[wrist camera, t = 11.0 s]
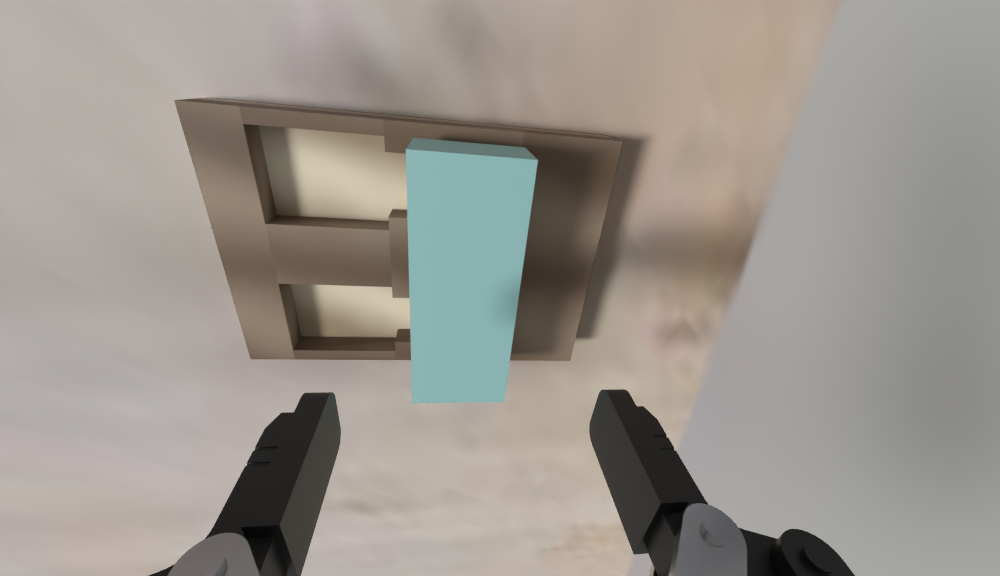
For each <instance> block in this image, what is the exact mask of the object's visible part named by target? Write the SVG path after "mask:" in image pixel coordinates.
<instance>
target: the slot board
mask: <svg viewBox="0 0 1000 576" xmlns="http://www.w3.org/2000/svg"><path fill="white" fill-rule="evenodd" d="M174 101H175V104H176V108H177V111H178V114H179V118H180V121H181V125H182V128H183V131H184V135H185V138H186V141H187V145H188V148H189V152H190V155H191V158H192V162H193V165H194V169H195V172H196V175H197V179H198V182H199V185H200V189H201V192H202V196H203V199H204V202H205V206H206V209H207V213H208V216H209V219H210V223H211V226H212V229H213V233H214V236H215V240H216V243H217V246H218V250H219V253H220V257H221V260H222V263H223V267H224V270H225V273H226V277H227V280H228V284H229V287H230V290H231V294H232V297H233V301H234V304H235V307H236V311H237V314H238V317H239V321H240V324H241V328H242V331H243V334H244V338H245V341H246V345H247V348H248V351H249V355H250V358H251V359H326V360H411V338H410V299H409V259H408V220H407V181H406V148H407V147H408V145H409V144H410V142H411V141H412V139H413V138H422V139H434V140H445V141H457V142H468V143H480V144H491V145H503V146H514V147H525V148H526V149H527V150H528V151H529V152H530V153H531V154H532V155H533V156H534V157H535V158H536V159H537V160H538V163H537V171H536V178H535V185H534V192H533V199H532V206H531V213H530V220H529V227H528V235H527V242H526V249H525V256H524V263H523V270H522V277H521V284H520V291H519V298H518V306H517V313H516V320H515V327H514V334H513V341H512V348H511V355H510V360H543V361H570V359H571V355H572V351H573V346H574V342H575V338H576V334H577V330H578V326H579V322H580V318H581V313H582V309H583V305H584V301H585V297H586V293H587V289H588V284H589V280H590V276H591V272H592V268H593V264H594V260H595V256H596V251H597V247H598V243H599V239H600V235H601V231H602V227H603V222H604V218H605V214H606V210H607V206H608V202H609V198H610V194H611V189H612V185H613V181H614V177H615V173H616V169H617V165H618V161H619V156H620V152H621V148H622V144H623V142H622V141H620V140H617V139H615V138H612V137H609V136H607V135H598V134H588V133H577V132H566V131H556V130H545V129H534V128H524V127H513V126H503V125H492V124H481V123H471V122H460V121H450V120H439V119H428V118H418V117H407V116H397V115H386V114H375V113H365V112H354V111H343V110H333V109H322V108H312V107H301V106H290V105H280V104H269V103H259V102H248V101H237V100H227V99H216V98H197V99H184V100H174Z"/></svg>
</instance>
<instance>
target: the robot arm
mask: <svg viewBox="0 0 1000 576" xmlns="http://www.w3.org/2000/svg"><path fill="white" fill-rule="evenodd" d="M340 436H341V429H340V422H339V417H338V411H337V405H336V399H335V395H334V393H304V394H303V395H302V397H301V399H300V401H299V403H298V405H297V407H296V409H295V412H294V413H281V414H280V415H279V416H278V417H277V418H276V419H275V420H274V421H273V422H271V423H270V424H269V425H268V426H267V427H266V428H265V430H264V432H263V434H262V435H261V437H260V439H259V441H258V443H257V445H256V447H255V451H253V453H252V454H251V456H250V458H249V460H248V462H247V466H245V468H244V470H243V472H242V474H241V475H240V477H239V479H238V481H237V483H236V485H235V487H234V489H233V491H232V493H231V494H230V496H229V498H228V500H227V502H226V504H225V506H224V508H223V510H222V512H221V513H220V515H219V517H218V519H217V521H216V523H215V525H214V527H213V528H212V530H211V532H210V533H209V534H208V536H207V537H206V538H205V540H203V541H201V542H199V543H198V544H196V545H195V546H193V547H192V548H191V549H189V550H188V551H187V552H186V553H185V554H184V555H183V556H182V557H181V558H180V559H179V560H178V561H177V562H176V564H174V565H172V566H171V567H169V568H167V569H164V570H162V571H160V572H157V573H155V574H152V575H149V576H301V573H302V569H303V566H304V563H305V559H306V556H307V553H308V549H309V546H310V543H311V539H312V536H313V533H314V529H315V526H316V523H317V519H318V516H319V513H320V509H321V506H322V503H323V499H324V496H325V493H326V490H327V486H328V483H329V480H330V476H331V473H332V470H333V466H334V463H335V460H336V456H337V453H338V449H339V445H340ZM590 438H591V442H592V445H593V448H594V450H595V453H596V456H597V458H598V461H599V464H600V466H601V469H602V471H603V474H604V477H605V479H606V482H607V485H608V487H609V490H610V493H611V495H612V498H613V501H614V503H615V506H616V508H617V511H618V514H619V516H620V519H621V522H622V524H623V527H624V530H625V532H626V535H627V537H628V540H629V543H630V545H631V548H632V551H633V553H634V554H644V553H649V556H650V558H651V561H652V563H653V565H652V567H651V570H650V575H649V576H855V575H854V574H853V573H852V571H851V570H850V569H849V567H848V566H847V565H846V563H845V562H844V561H843V560H842V559H841V557H840V556H839V555H838V554H837V553H836V552H835V551H834V550H833V549H832V548H831V547H830V546H829V545H828V544H826V543H825V542H824V541H822V540H821V539H819V538H818V537H816V536H814V535H812V534H810V533H808V532H805V531H803V530H799V529H789V530H787V531H785V532H784V533H783V534H782V535H781V536H780V537H779V539H775V538H772V537H768V536H765V535H761V534H758V533H754V532H751V531H747V530H743V529H741V528H738V527H737V525H736V524H735V523H734V522H733V521H732V519H731V518H729V517H728V516H727V515H726V514H725V513H723V512H722V511H720V510H719V509H717V508H715V507H713V506H711V505H708V503H707V502H706V500H705V499H704V497H703V496H702V494H701V492H700V491H699V489H698V487H697V486H696V484H695V482H694V481H693V479H692V477H691V475H690V474H689V472H688V471H687V469H686V467H685V466H684V464H683V462H682V460H681V459H680V457H679V455H678V454H677V452H676V451H674V447H673V445H672V443H671V442H670V440H669V438H667V437H666V433H665V432H664V430H663V428H662V427H661V425H660V423H659V422H658V420H657V419H656V418H655V417H654V416H653V415H652V414H651V413H650V412H649V411H648V410H647V409H646V408H644V407H643V406H639V407H637V406H636V405H635V403H634V401H633V399H632V397H631V396H630V394H629V392H628V391H627V390H601V391H600V393H599V395H598V398H597V402H596V405H595V408H594V411H593V414H592V418H591V421H590Z"/></svg>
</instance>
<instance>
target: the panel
mask: <svg viewBox="0 0 1000 576" xmlns="http://www.w3.org/2000/svg"><path fill="white" fill-rule="evenodd" d="M537 163H538V160H537V159H536V158H535V157H534V156H533V155H532V154H531V153H530V152H529V151H528V150H527V149H526V148H525V147H514V146H503V145H491V144H480V143H468V142H457V141H445V140H434V139H422V138H413V139H412V141H411V142H410V144H409V145H408V147H407V148H406V181H407V220H408V259H409V299H410V338H411V377H412V403H462V402H504V398H505V391H506V384H507V377H508V369H509V362H510V355H511V348H512V341H513V334H514V327H515V320H516V313H517V306H518V298H519V291H520V284H521V277H522V270H523V263H524V256H525V249H526V242H527V235H528V227H529V220H530V213H531V206H532V199H533V192H534V185H535V178H536V171H537Z"/></svg>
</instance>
